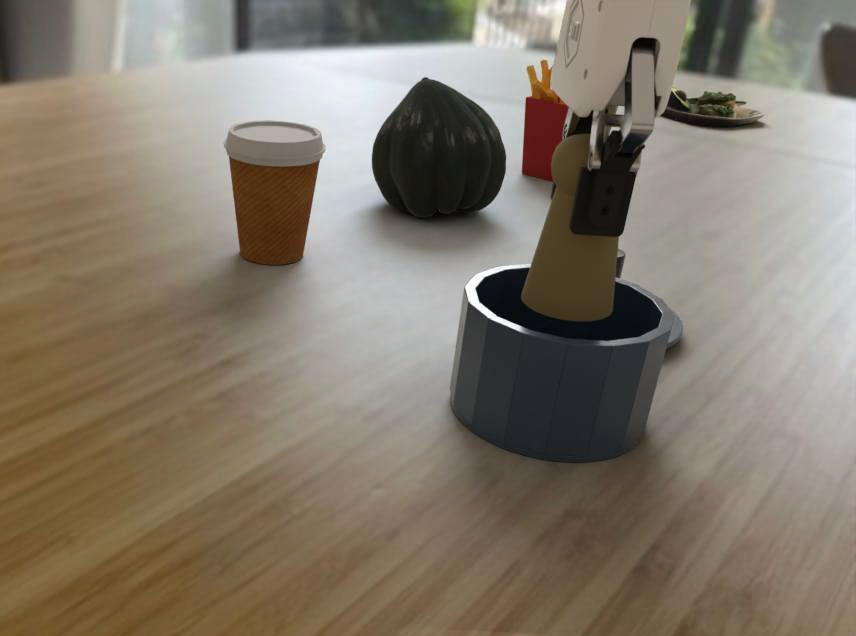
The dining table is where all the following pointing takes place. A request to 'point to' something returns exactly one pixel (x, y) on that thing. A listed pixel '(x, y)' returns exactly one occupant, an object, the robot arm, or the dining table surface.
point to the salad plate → (709, 109)
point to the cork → (571, 250)
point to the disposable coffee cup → (273, 187)
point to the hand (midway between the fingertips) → (584, 215)
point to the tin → (556, 370)
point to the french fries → (542, 124)
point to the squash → (438, 153)
